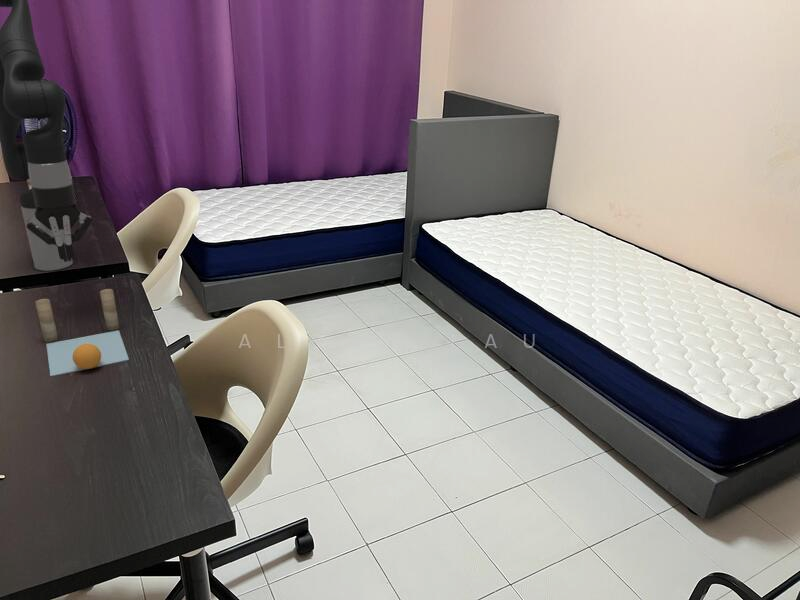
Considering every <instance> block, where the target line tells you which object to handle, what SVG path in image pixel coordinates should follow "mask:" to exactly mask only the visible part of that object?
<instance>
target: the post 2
mask: <svg viewBox="0 0 800 600" xmlns="http://www.w3.org/2000/svg"><path fill="white" fill-rule="evenodd" d="M99 294H100V300H101V306H102V312H103V316H104V322H105V323H104V324H105V328H106V331H108V332H113V331H118V329H120V322H119V319H118V318H119V316H118V312H117V305H116V299H115V294H114V290H113V289H112V288H105V289H102V290H100V292H99Z"/></svg>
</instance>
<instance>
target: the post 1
mask: <svg viewBox="0 0 800 600" xmlns="http://www.w3.org/2000/svg"><path fill="white" fill-rule="evenodd" d="M35 307H36V311H37V315H38V319H39V320H38V321H39V323H40V324H39V325H40V328H41V333H42V337H43V341H44V342H45V343H46V344H48V343H54V342H58V340H59V336H58V332H57V327H56V323H55V318H54V313H53V308H52V304H51V301H50V299H49V298H41V299H38V300H35Z"/></svg>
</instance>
